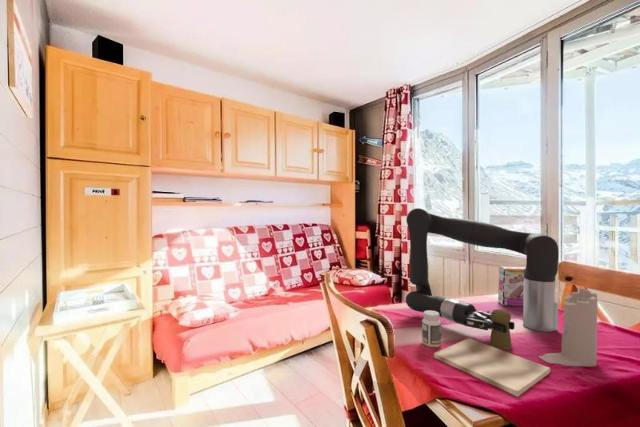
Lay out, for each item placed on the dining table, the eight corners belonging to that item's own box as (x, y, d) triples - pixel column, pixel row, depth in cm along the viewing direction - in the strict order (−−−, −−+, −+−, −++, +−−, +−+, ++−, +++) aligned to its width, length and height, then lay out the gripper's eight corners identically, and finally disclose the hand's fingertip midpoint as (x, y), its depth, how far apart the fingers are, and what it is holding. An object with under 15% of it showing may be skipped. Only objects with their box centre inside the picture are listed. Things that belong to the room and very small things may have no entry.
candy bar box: (503, 306, 132) (503, 268, 132) (497, 302, 137) (498, 266, 137) (530, 307, 131) (531, 269, 131) (524, 303, 136) (524, 266, 136)
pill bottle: (441, 341, 98) (441, 311, 98) (440, 349, 93) (440, 316, 93) (423, 338, 100) (423, 308, 100) (420, 345, 95) (421, 314, 95)
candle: (533, 353, 90) (534, 286, 89) (581, 354, 90) (582, 286, 89) (551, 366, 83) (552, 292, 82) (603, 367, 82) (605, 293, 82)
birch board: (433, 357, 88) (433, 353, 88) (468, 341, 98) (468, 338, 98) (517, 396, 70) (517, 391, 70) (550, 372, 80) (550, 368, 80)
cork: (485, 341, 98) (485, 307, 98) (503, 341, 98) (503, 307, 98) (497, 350, 92) (498, 314, 92) (516, 349, 92) (517, 313, 92)
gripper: (445, 304, 103) (498, 320, 88) (469, 297, 111) (521, 311, 96) (445, 326, 103) (498, 346, 89) (469, 318, 111) (521, 334, 97)
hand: (510, 327), depth 93 cm, fingers closed on cork, 3 cm apart
